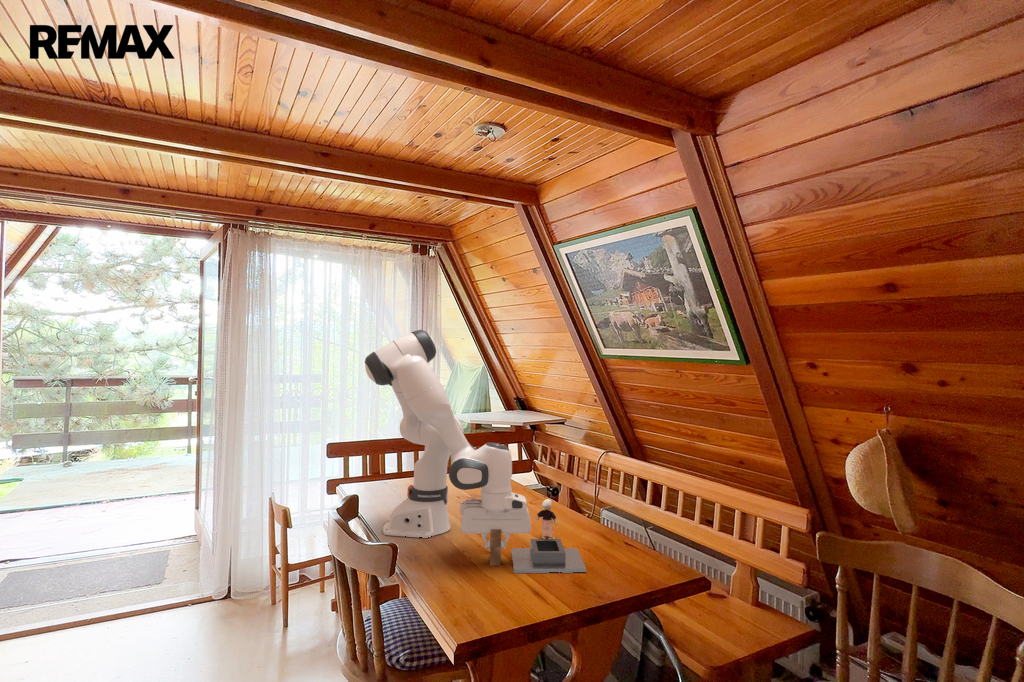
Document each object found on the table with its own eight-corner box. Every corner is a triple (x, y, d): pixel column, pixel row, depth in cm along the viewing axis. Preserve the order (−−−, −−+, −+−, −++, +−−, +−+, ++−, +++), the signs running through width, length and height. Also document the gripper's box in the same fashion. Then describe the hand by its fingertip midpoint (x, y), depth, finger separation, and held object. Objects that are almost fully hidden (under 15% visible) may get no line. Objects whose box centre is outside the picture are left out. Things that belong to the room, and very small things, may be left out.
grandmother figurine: (559, 537, 175) (560, 498, 175) (556, 541, 171) (557, 502, 171) (537, 534, 177) (537, 496, 178) (533, 538, 174) (534, 499, 174)
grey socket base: (513, 573, 147) (514, 555, 147) (511, 552, 162) (511, 536, 162) (586, 572, 148) (586, 555, 148) (577, 552, 163) (577, 536, 163)
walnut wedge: (490, 565, 152) (490, 530, 152) (490, 558, 157) (490, 524, 157) (500, 565, 152) (501, 530, 152) (500, 558, 157) (500, 524, 157)
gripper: (459, 502, 151) (458, 552, 151) (531, 503, 152) (531, 552, 151) (460, 496, 157) (459, 543, 157) (530, 496, 158) (529, 543, 158)
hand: (495, 547), depth 154 cm, fingers closed on walnut wedge, 3 cm apart
